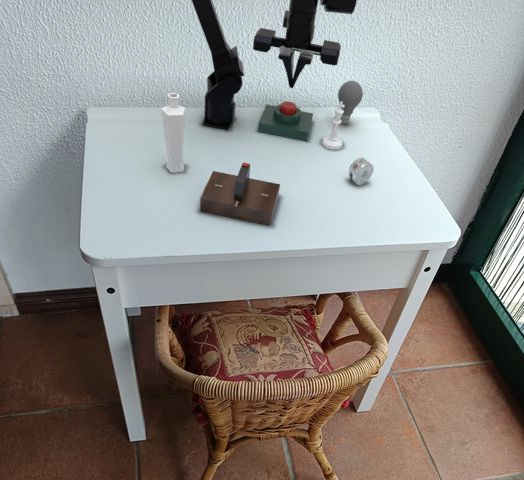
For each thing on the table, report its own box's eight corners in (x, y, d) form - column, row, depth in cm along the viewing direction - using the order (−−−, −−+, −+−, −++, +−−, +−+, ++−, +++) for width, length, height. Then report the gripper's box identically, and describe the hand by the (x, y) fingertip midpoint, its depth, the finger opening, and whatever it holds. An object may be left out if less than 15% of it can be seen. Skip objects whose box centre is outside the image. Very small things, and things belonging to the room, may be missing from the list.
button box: (258, 131, 117) (259, 115, 114) (265, 112, 123) (267, 96, 120) (306, 141, 117) (309, 125, 114) (311, 122, 123) (314, 106, 120)
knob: (242, 200, 94) (243, 181, 90) (233, 199, 94) (235, 179, 90) (248, 182, 98) (250, 163, 95) (241, 181, 98) (242, 161, 95)
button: (279, 114, 116) (280, 106, 115) (281, 107, 118) (282, 100, 117) (293, 117, 116) (295, 109, 115) (296, 110, 118) (297, 103, 117)
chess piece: (340, 151, 116) (351, 108, 108) (320, 147, 116) (329, 104, 108) (342, 141, 119) (353, 99, 111) (323, 137, 119) (332, 95, 111)
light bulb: (346, 131, 122) (356, 89, 114) (327, 121, 124) (336, 80, 116) (359, 124, 125) (370, 83, 117) (341, 114, 127) (350, 74, 120)
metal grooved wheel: (352, 187, 106) (358, 166, 103) (344, 180, 108) (350, 159, 104) (369, 182, 109) (376, 161, 105) (361, 175, 110) (367, 154, 106)
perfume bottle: (166, 160, 105) (162, 88, 93) (186, 163, 105) (185, 91, 94) (162, 172, 102) (158, 99, 90) (183, 174, 102) (182, 102, 91)
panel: (199, 212, 95) (199, 198, 93) (213, 182, 102) (213, 169, 99) (269, 226, 95) (271, 213, 92) (278, 196, 101) (280, 182, 99)
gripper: (349, 5, 106) (333, 80, 118) (265, -11, 106) (258, 66, 118) (346, 22, 99) (329, 100, 111) (256, 5, 99) (249, 85, 111)
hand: (291, 87), depth 113 cm, fingers closed
